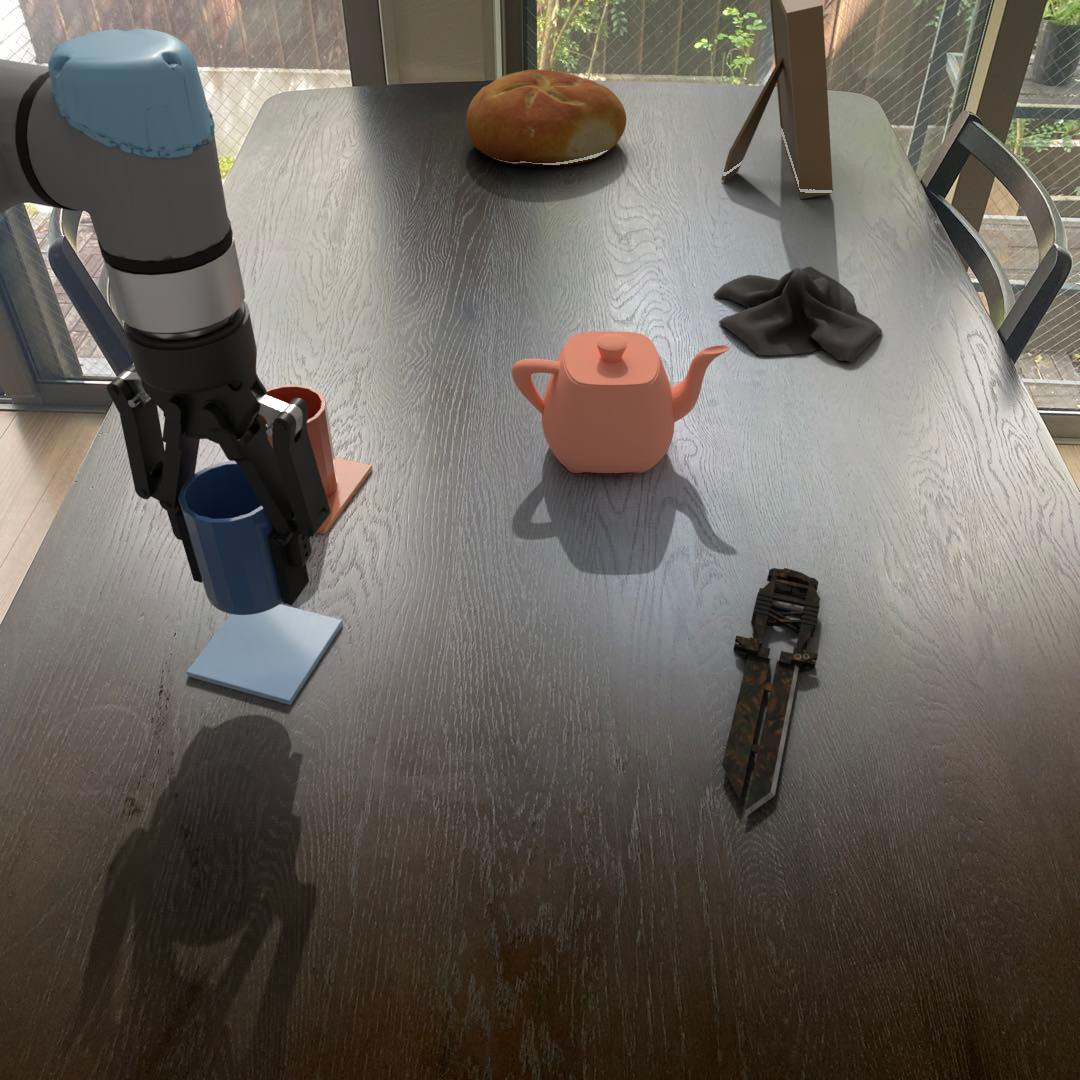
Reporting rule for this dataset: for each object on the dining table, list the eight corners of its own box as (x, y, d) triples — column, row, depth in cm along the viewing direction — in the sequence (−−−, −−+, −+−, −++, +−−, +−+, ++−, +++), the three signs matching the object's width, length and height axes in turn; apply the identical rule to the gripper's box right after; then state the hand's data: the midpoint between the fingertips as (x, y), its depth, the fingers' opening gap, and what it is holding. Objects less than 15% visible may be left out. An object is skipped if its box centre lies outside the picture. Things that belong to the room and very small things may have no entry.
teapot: (724, 489, 102) (740, 380, 94) (512, 490, 102) (509, 381, 94) (706, 408, 112) (720, 303, 104) (513, 408, 112) (512, 303, 104)
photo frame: (809, 138, 166) (839, -42, 149) (831, 199, 149) (868, 5, 133) (712, 136, 166) (731, -43, 149) (724, 197, 150) (747, 3, 133)
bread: (607, 185, 153) (610, 114, 146) (448, 169, 157) (445, 99, 150) (634, 126, 169) (638, 59, 162) (490, 113, 173) (488, 47, 166)
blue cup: (188, 603, 80) (159, 510, 74) (235, 545, 85) (212, 453, 79) (269, 624, 78) (247, 531, 72) (313, 563, 83) (295, 471, 77)
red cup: (250, 500, 100) (232, 420, 94) (286, 457, 104) (271, 378, 98) (316, 515, 98) (302, 435, 92) (350, 471, 103) (338, 392, 97)
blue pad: (187, 676, 84) (185, 671, 84) (246, 599, 91) (245, 594, 90) (290, 705, 82) (289, 700, 82) (343, 624, 89) (342, 619, 88)
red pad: (227, 511, 99) (225, 506, 99) (280, 449, 106) (279, 444, 106) (325, 535, 97) (324, 530, 96) (372, 470, 104) (372, 465, 103)
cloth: (894, 367, 118) (907, 317, 114) (723, 362, 118) (730, 313, 114) (857, 269, 134) (867, 222, 130) (708, 266, 135) (713, 219, 131)
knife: (763, 830, 74) (766, 818, 73) (674, 798, 76) (675, 787, 75) (838, 592, 92) (841, 581, 91) (763, 572, 93) (766, 560, 92)
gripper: (358, 306, 66) (392, 577, 82) (85, 258, 71) (165, 522, 86) (300, 369, 61) (348, 646, 76) (9, 312, 66) (109, 584, 81)
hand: (251, 580), depth 81 cm, fingers closed on blue cup, 7 cm apart
